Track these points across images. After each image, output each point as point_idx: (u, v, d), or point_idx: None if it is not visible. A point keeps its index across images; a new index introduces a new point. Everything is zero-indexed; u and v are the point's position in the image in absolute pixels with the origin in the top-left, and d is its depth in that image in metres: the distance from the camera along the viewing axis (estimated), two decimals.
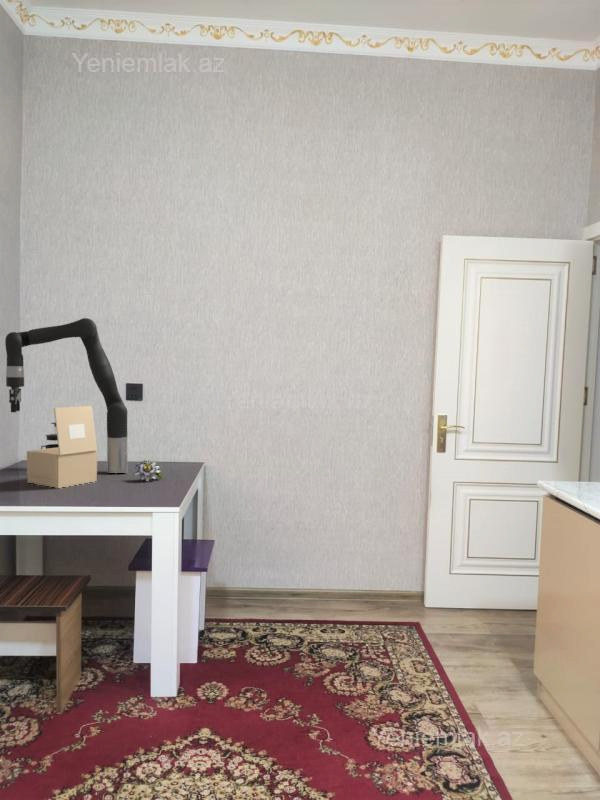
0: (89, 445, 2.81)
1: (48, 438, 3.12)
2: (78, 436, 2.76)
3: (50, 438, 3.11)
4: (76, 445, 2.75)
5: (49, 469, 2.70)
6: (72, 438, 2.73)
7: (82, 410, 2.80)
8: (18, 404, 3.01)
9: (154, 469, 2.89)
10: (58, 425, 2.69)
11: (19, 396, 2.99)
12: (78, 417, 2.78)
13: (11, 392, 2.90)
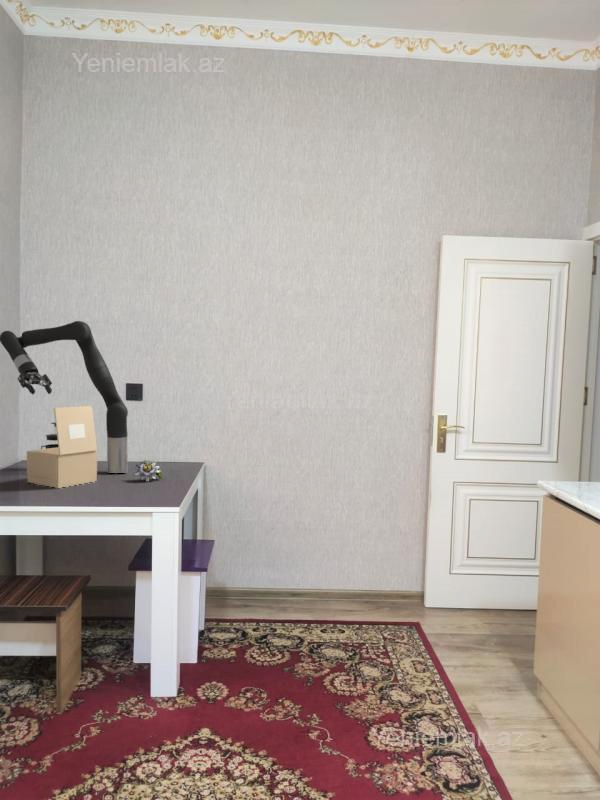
0: (89, 445, 2.81)
1: (48, 438, 3.12)
2: (78, 436, 2.76)
3: (50, 438, 3.11)
4: (76, 445, 2.75)
5: (49, 469, 2.70)
6: (72, 438, 2.73)
7: (82, 410, 2.80)
8: (47, 386, 2.93)
9: (154, 469, 2.89)
10: (58, 425, 2.69)
11: (40, 379, 2.93)
12: (78, 417, 2.78)
13: (19, 378, 2.86)
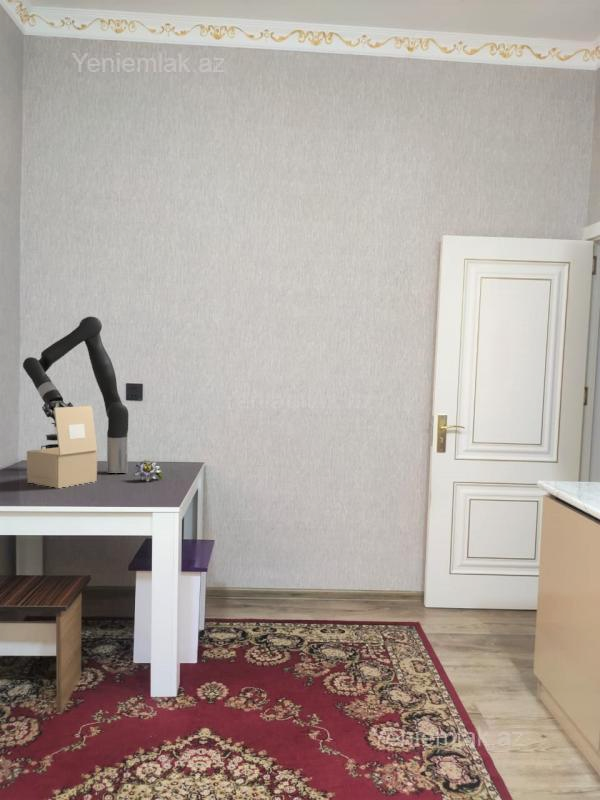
0: (89, 445, 2.81)
1: (48, 438, 3.12)
2: (78, 436, 2.76)
3: (50, 438, 3.11)
4: (76, 445, 2.75)
5: (49, 469, 2.70)
6: (72, 438, 2.73)
7: (82, 410, 2.80)
8: None
9: (154, 469, 2.89)
10: (58, 425, 2.69)
11: None
12: (78, 417, 2.78)
13: (43, 408, 2.76)
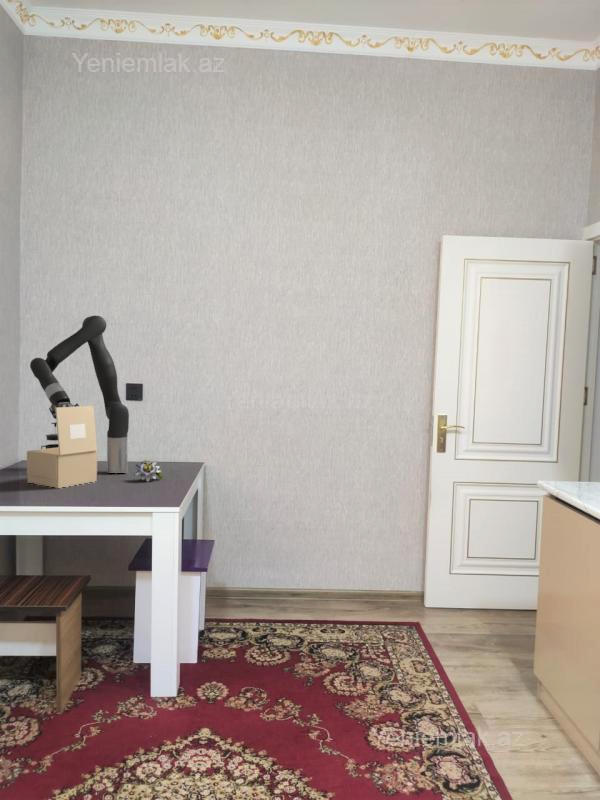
0: (89, 445, 2.81)
1: (48, 438, 3.12)
2: (79, 436, 2.76)
3: (50, 438, 3.11)
4: (77, 445, 2.75)
5: (49, 469, 2.70)
6: (72, 438, 2.73)
7: (84, 410, 2.80)
8: None
9: (154, 469, 2.89)
10: (59, 425, 2.68)
11: None
12: (79, 417, 2.77)
13: (50, 409, 2.74)
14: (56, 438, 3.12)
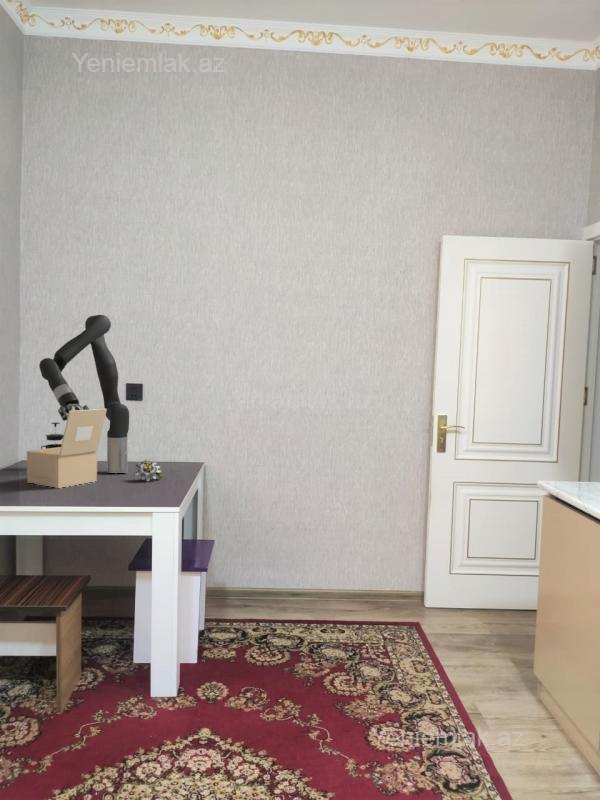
0: (91, 446, 2.80)
1: (48, 438, 3.12)
2: (83, 438, 2.75)
3: (50, 438, 3.11)
4: (79, 446, 2.74)
5: (49, 469, 2.70)
6: (77, 440, 2.72)
7: (96, 413, 2.76)
8: None
9: (154, 469, 2.89)
10: (68, 428, 2.66)
11: None
12: (89, 420, 2.74)
13: (59, 411, 2.71)
14: (56, 438, 3.12)
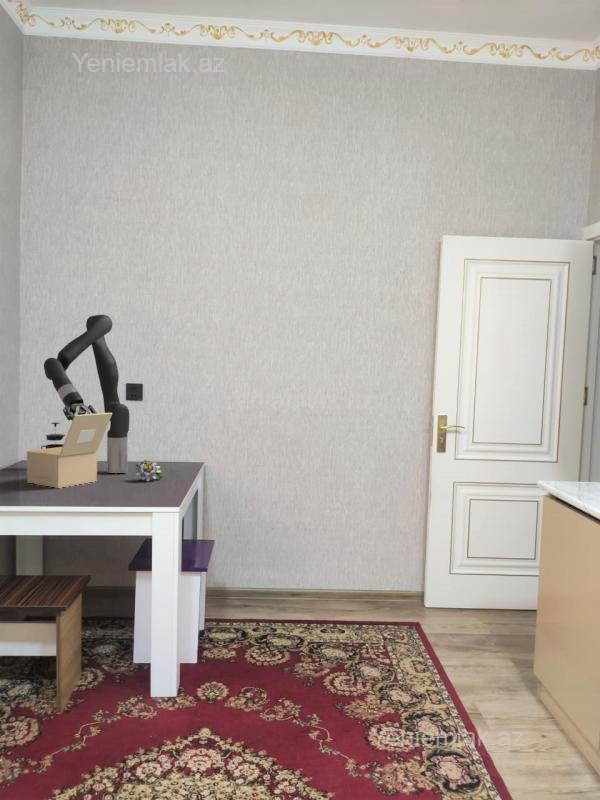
0: (91, 447, 2.80)
1: (48, 438, 3.12)
2: (85, 440, 2.74)
3: (50, 438, 3.11)
4: (79, 447, 2.74)
5: (49, 469, 2.70)
6: (78, 441, 2.71)
7: (101, 418, 2.74)
8: None
9: (155, 469, 2.89)
10: (71, 431, 2.65)
11: (86, 410, 2.75)
12: (94, 424, 2.73)
13: (64, 410, 2.69)
14: (56, 438, 3.12)
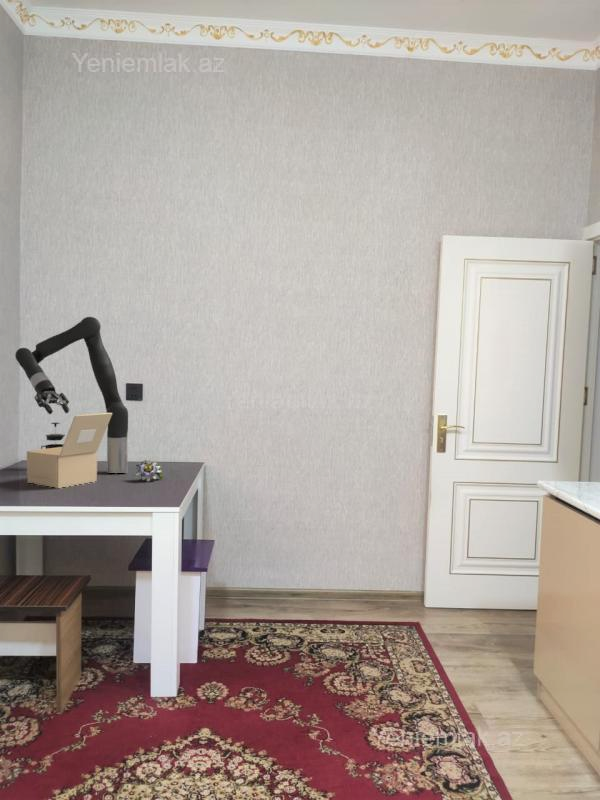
0: (91, 447, 2.80)
1: (48, 438, 3.12)
2: (85, 440, 2.74)
3: (50, 438, 3.11)
4: (79, 447, 2.74)
5: (49, 469, 2.70)
6: (78, 441, 2.71)
7: (101, 418, 2.74)
8: (64, 405, 2.85)
9: (155, 469, 2.89)
10: (71, 431, 2.65)
11: (57, 398, 2.85)
12: (94, 424, 2.73)
13: (36, 397, 2.78)
14: (56, 438, 3.12)
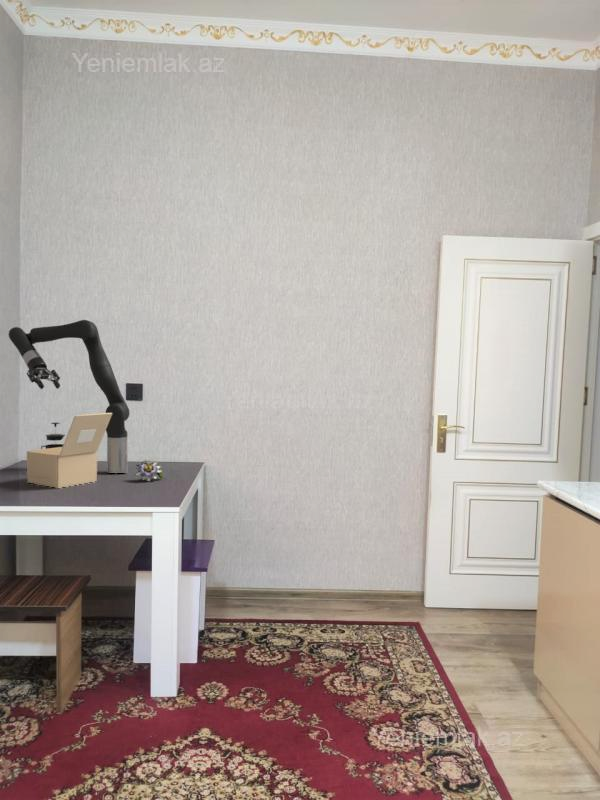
0: (91, 447, 2.80)
1: (48, 438, 3.12)
2: (85, 440, 2.74)
3: (50, 438, 3.11)
4: (79, 447, 2.74)
5: (49, 469, 2.70)
6: (78, 441, 2.71)
7: (101, 418, 2.74)
8: (55, 381, 3.00)
9: (155, 469, 2.89)
10: (71, 431, 2.65)
11: (49, 374, 2.99)
12: (94, 424, 2.73)
13: (28, 373, 2.93)
14: (56, 438, 3.12)
